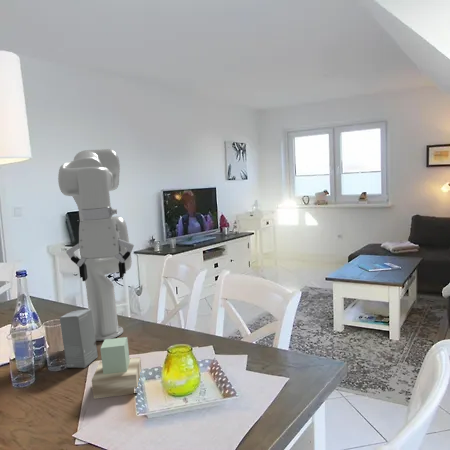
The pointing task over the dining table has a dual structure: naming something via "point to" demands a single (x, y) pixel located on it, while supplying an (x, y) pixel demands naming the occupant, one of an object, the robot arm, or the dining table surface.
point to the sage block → (115, 355)
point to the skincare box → (78, 338)
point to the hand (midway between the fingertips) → (103, 278)
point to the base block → (116, 380)
